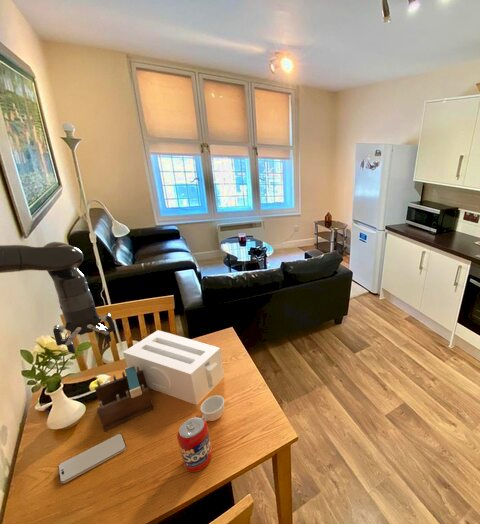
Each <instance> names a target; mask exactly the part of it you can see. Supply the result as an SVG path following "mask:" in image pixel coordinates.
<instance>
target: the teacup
mask: <svg viewBox="0 0 480 524" xmlns="http://www.w3.org/2000/svg"><path fill="white" fill-rule="evenodd" d="M225 410H226V409H225V398H224V397H223V396H222V395H216V394H215V395H211V396H209V397H207V398H206V399H205V400H204V401H202V403H201V404H200V413H201V417H200V418H202V419H203V420H204V421H206V422H214V421H217V420H219V419H220V418H221V417H222V416H223V415H224V413H225Z"/></svg>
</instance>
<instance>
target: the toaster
mask: <svg viewBox="0 0 480 524" xmlns="http://www.w3.org/2000/svg"><path fill="white" fill-rule="evenodd" d="M122 355H123V357H124V358H123V359H124V362H125V364H126V367H129V366H132V365H135V369H136V372H138V371H137V367H139V370H140V371H141V370H143V372H144V376H145V380H146V384H147V387H148V389H150V390H153V391H156V392H160V393H162V394H164V395H167V396H170V397H174V398H176V399H179V400H182V401H184V402H186V403H187V402H188V403H190V404H192V405H196V406H198V405H199V404H200V403H201V401H203V400H204V398H206V396H207V395H209V393H210V392H211V391H212V390H213V389H214V388H216V386H217V385H219V383H220V382H221V381H222V380H223V379H224V378H225V370H224V364H223V355H222V349H221V347H219V346H215V345H211V344H208V343H204V342H201V341H198V340H195V339H191V338H187V337H184V336H181V335H177V334H173V333H170V332H167V331H163V330H159V329H157V330H156V331H154V332H152V333H151V334H148V336H146V337H145V338H143V339H141V340H139V341H138V342H136V343H134V344H133V345H132V346H130V347H129V348H127V349H125V350H124V351H122Z"/></svg>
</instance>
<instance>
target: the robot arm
mask: <svg viewBox="0 0 480 524" xmlns="http://www.w3.org/2000/svg"><path fill="white" fill-rule="evenodd" d="M83 261H84V254H83V252H82V251H81V250H80V249H79V248H78V247H75V246H73V245H70V244H67V243H65V242H61V241H52V242H49V243H46V244H45V245H44V246H31V245H25V244H3V245H1V244H0V274H5V273H7V274H8V273H16V272H25V271H41V272H42V271H45V272H47V273H48V276H50V278H51V280H52V282H53V286H54V288H55V292H56V294H57V299H58V304H59V309H60V310H61V313H62V315H63V318H64V321H65V324H63V325H58V324H57V325H56V324H55V325H54V326H53V329H52V331H53V335H54V340H55V344H56V346H58V347H59V346H60V347H61V346H63V345H64V346H66V348H67V351H68V353H70V354H72V355H75V354H76V352H77V351H76V347H75V344H74V342H73V341H74V340H75V339H76V337H77V336H79V335H80V336H82V335H85V334H90V333H93V332H94V331H95V332H98V333H100V334H103V336H104V340H105V343H106V345H108V344H110V342H112V336H111V333H112V332H116V325H115V322H114V319H113V317H112V314H111V313H110V312H108V313H105V315H102V316H100V315H99V314H98V312H97V307H96V304H95V301H94V297H93V295H92V293H91V291H90V289H89V285H88V282H87V278H86V276H85V275H84V274H83V273H82V271H80V270H79V268H78V267H79V266H81V264H82V263H83ZM101 321H103V322H105V323H107V324H108V327H106V326H104V325H103V324H101ZM65 330H67V331H68V332H69V334H68V335H67V337H66V338H63V336H62V334H63V333H64V331H65Z"/></svg>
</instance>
